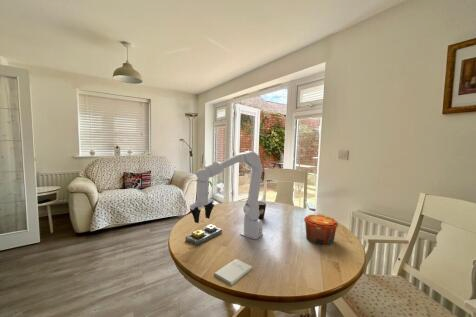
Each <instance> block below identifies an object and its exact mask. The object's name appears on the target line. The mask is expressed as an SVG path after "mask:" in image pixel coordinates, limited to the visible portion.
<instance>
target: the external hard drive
mask: <svg viewBox="0 0 476 317" xmlns="http://www.w3.org/2000/svg"><path fill="white" fill-rule="evenodd" d="M252 269H253V266H252V265H250V264H248V263H246V262H244V261H241V260H239V259H238V258H235V259H234V260H232V261H230V262H229V263H227V264H226V265H224V266H223V267H221V268H219V270H217V271H216V272H215V271H214V273H213V275H214V277H216V278H218V279H219V280H221V281H223V282H225V283H226V284H228V285H230V286H233V285H234V284H235V283H236V282H237V281H238V280H240V279H241V278H242V277H244V276H245V275H246V274H247V273H248V272H250V271H251V270H252Z"/></svg>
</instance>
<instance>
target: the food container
mask: <svg viewBox="0 0 476 317" xmlns="http://www.w3.org/2000/svg"><path fill="white" fill-rule="evenodd" d="M303 220H304V223H305V238H306V240H308V241H309V242H311V243H312V244H315V245H318V244H319V245H318V246H323V245H328V246H331V245H332V244H334V243H335V242H334V240H335V235H336V230H337V228H338V226H339V223H338V222H337V220H335V218H333V217H330V216H325V215H322V214H309V215H307V216H305V217H304V219H303Z"/></svg>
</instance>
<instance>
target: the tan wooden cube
mask: <svg viewBox="0 0 476 317" xmlns="http://www.w3.org/2000/svg"><path fill="white" fill-rule="evenodd" d="M200 230H201V229H200ZM200 230H199V229H197V230H195V231H193V232H191V234H192V238H195V239H197V240H199V239H201V238H203V237H204V232H203V231H200Z"/></svg>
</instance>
